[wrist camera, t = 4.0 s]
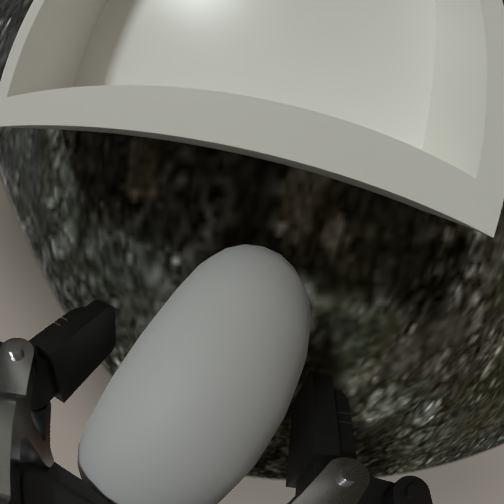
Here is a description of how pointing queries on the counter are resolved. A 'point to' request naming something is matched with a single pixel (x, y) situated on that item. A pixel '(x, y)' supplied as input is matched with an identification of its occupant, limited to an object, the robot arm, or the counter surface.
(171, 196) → the counter surface
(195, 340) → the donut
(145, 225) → the counter surface
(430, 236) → the counter surface
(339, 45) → the tray
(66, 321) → the robot arm
